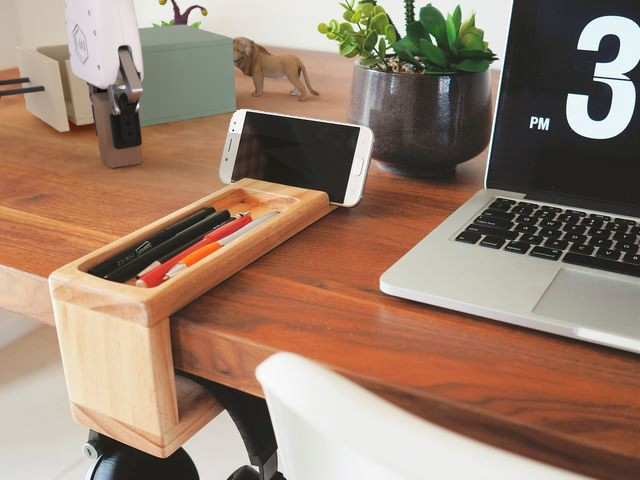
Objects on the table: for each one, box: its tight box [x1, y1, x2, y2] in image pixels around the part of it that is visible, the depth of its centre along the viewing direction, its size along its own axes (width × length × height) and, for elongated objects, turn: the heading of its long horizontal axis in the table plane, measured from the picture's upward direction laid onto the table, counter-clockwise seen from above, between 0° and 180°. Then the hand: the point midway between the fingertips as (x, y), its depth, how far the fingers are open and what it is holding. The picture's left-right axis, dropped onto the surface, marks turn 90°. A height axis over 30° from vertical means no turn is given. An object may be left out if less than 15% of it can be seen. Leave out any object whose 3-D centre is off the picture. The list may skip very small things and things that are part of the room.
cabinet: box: [122, 24, 237, 128], centre depth 106 cm, size 17×15×11 cm
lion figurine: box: [233, 36, 320, 102], centre depth 115 cm, size 15×5×9 cm, turn 82°
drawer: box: [0, 43, 124, 133], centre depth 98 cm, size 22×13×9 cm, turn 130°
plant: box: [151, 0, 208, 29], centre depth 144 cm, size 20×20×11 cm
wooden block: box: [92, 91, 143, 169], centre depth 84 cm, size 4×4×8 cm
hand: (118, 139), depth 85 cm, fingers closed on wooden block, 4 cm apart
